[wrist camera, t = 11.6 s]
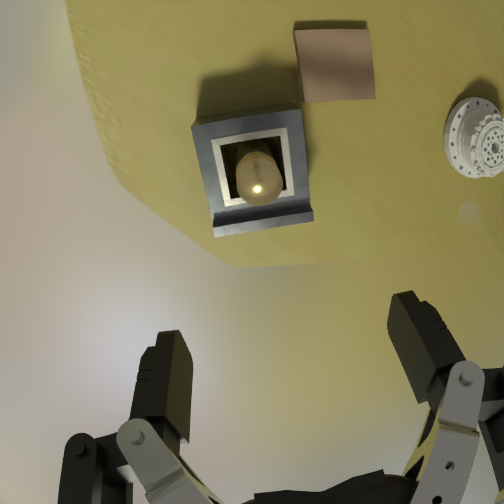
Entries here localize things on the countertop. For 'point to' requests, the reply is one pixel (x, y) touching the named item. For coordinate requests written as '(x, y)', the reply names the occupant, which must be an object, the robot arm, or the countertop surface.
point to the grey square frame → (225, 192)
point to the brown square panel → (334, 64)
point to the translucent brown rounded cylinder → (257, 173)
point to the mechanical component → (475, 138)
